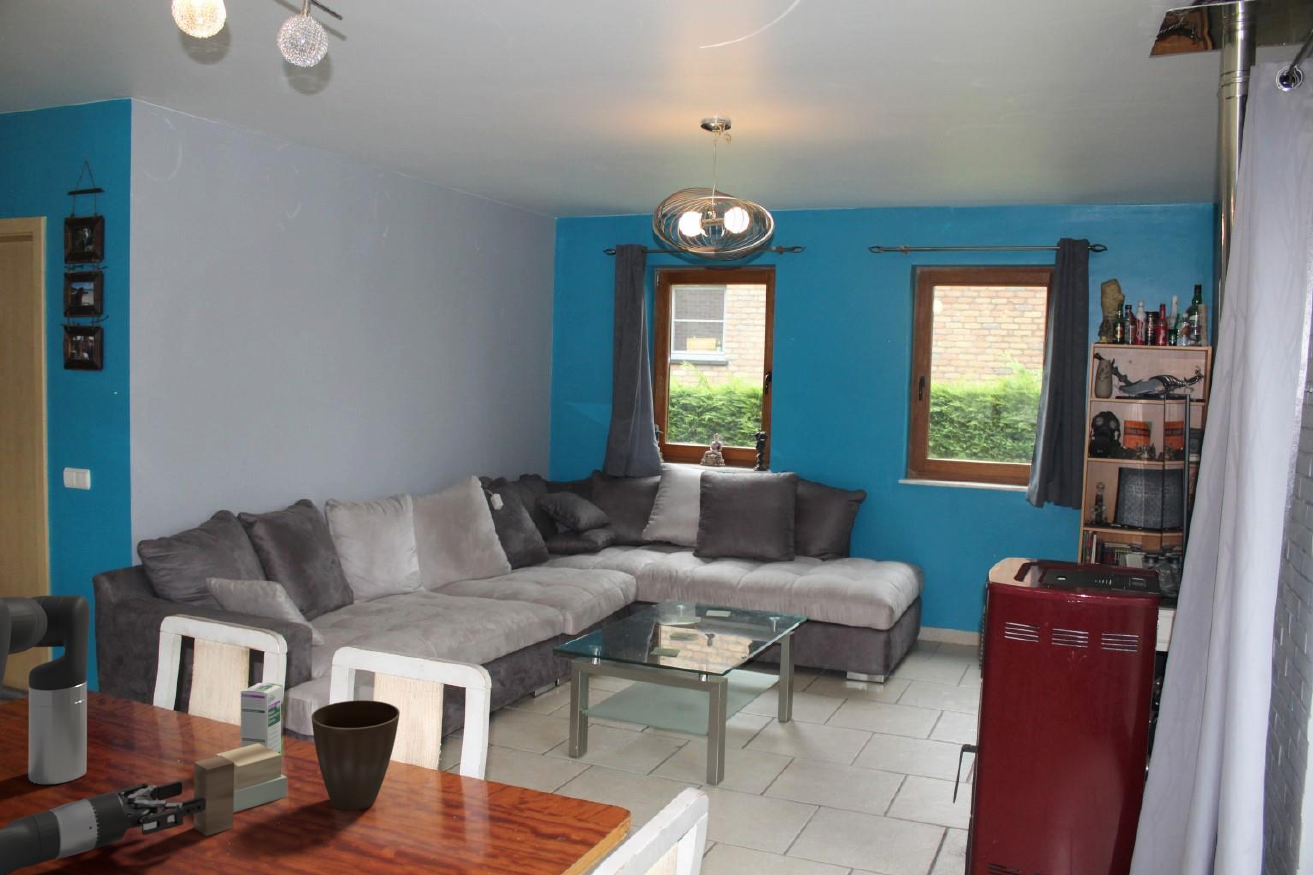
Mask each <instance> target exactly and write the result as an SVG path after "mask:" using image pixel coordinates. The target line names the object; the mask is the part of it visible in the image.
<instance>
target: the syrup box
mask: <svg viewBox="0 0 1313 875" xmlns="http://www.w3.org/2000/svg"><path fill="white" fill-rule="evenodd" d="M257 743H259V744H261V745H263V746H265V747H267V748H269V749H271V750H273V751H275V752H277V753H279V754H281V755H282V758H283V757H284V685H283V684H280V683H279V684H278V683H271V682H257V683H256V684H254V685H252V686H249V687H247V688H246V689H243V690H241V691H240V748H242V747H245V746H249V745H253V744H257Z"/></svg>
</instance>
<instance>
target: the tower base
mask: <svg viewBox="0 0 1313 875" xmlns="http://www.w3.org/2000/svg"><path fill="white" fill-rule="evenodd" d="M287 786H288V777H287V776H286V775H284V774H282V773H281V777H278V778H275V779H272V780H268V781H265V782H261V783H258V784H255V785H251V786H248V787H244V788H241V789H237V788H235V787H234V813H238V812H241V811H244V810H248V809H250V808H253V807H258V806H261V805H263V804H267V803H271V802H274V801H278V800H280V799H284V798H287V795H288V794H287V789H288V788H287Z"/></svg>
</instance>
